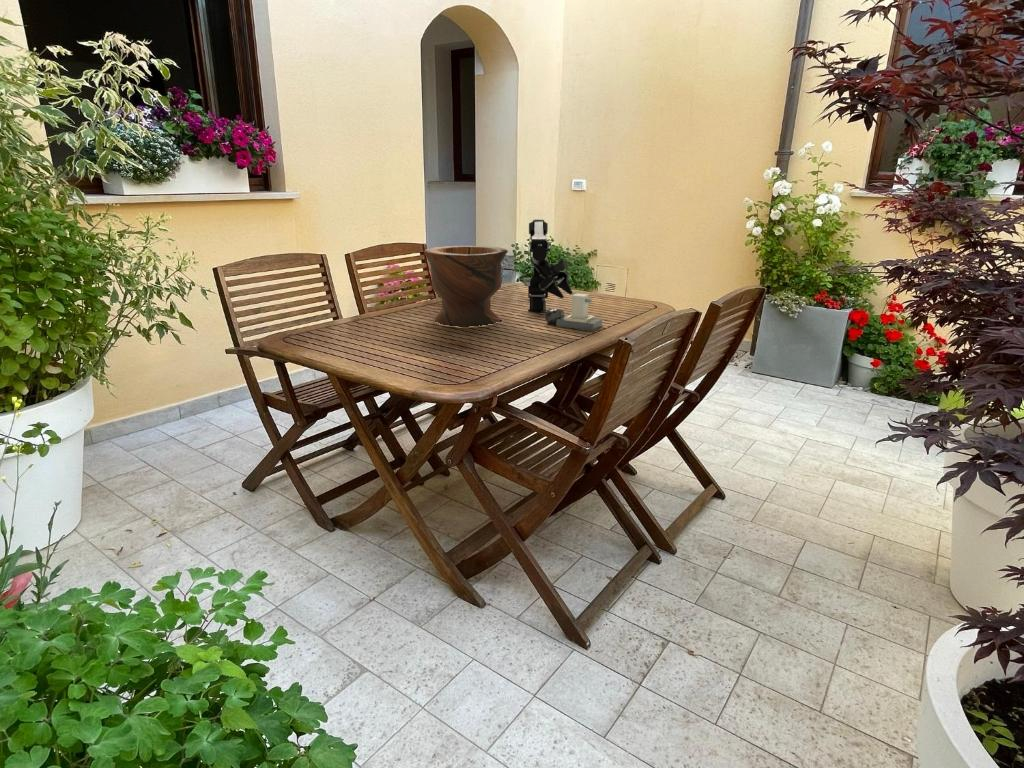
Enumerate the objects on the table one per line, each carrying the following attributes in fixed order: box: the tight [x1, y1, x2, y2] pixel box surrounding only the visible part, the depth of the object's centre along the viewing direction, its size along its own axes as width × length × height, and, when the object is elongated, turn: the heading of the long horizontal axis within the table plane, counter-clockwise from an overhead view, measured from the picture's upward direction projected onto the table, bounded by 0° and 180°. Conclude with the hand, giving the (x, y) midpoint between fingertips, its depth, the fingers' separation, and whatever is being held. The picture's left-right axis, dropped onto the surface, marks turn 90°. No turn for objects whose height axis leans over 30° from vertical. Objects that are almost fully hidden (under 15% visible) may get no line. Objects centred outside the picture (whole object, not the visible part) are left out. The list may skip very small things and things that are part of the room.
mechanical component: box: [521, 277, 532, 287], centre depth 303 cm, size 3×10×10 cm, turn 89°
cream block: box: [571, 293, 592, 320], centre depth 247 cm, size 7×5×10 cm
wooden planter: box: [423, 245, 508, 327], centre depth 255 cm, size 34×35×29 cm
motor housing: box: [544, 308, 603, 332], centre depth 250 cm, size 22×10×6 cm, turn 62°
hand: (567, 295), depth 249 cm, fingers open, 9 cm apart
